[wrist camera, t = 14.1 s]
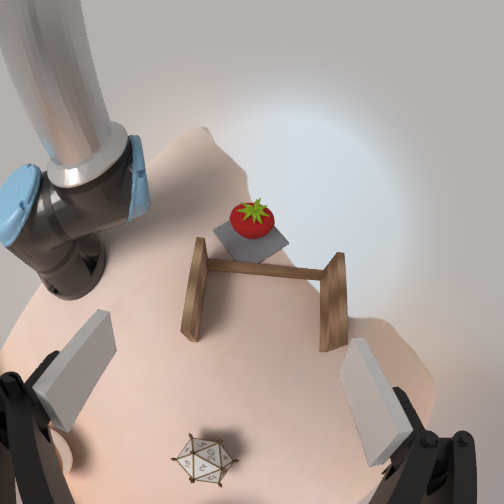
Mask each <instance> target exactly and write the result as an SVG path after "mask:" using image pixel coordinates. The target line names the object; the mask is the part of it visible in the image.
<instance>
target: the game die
mask: <svg viewBox="0 0 504 504" xmlns="http://www.w3.org/2000/svg"><path fill="white" fill-rule="evenodd" d="M189 437H190V438H191V439H190V440H189V442H188V443H187V445H186V446H185V447H184V449H183V450H182V452H181V453H180V454H179V456H178V457H177V458H171V460H173V461H175V460H176V461H177V462H178V463H179V464H180V465H181V466H182V468H183V469H184V470H185V471H186V472H187V473H188V474H189V476H190V478H189V481H190V480H191V481H190V482H191V483H194V482H195V480H197V481H204V482H211V483H218V485H219V486H220V487H222V484H221V483H220V481H221V480H222V478H223V477H224V475H225V474H226V472H227V471H228V469H229V468H230V466H231V465H232V463H233V462H238V461H239V460H237V459H236V460H233V459H232V458H231V457H230V456H229V454H228V453H227V452H226V450H225V449H224V448H223V446H222V445H221V444H220V443H222V438H221V439H219V440H218V442H217V441H209V440H203V439H197V438H193V437H192V434H190V433H189Z"/></svg>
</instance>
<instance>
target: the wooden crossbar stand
mask: <svg viewBox="0 0 504 504" xmlns="http://www.w3.org/2000/svg"><path fill="white" fill-rule="evenodd" d="M208 270H217V271H226V272H236V273H245V274H255V275H265V276H275V277H286V278H297V279H308V280H319V281H320V352H328V351H331V350H334V349H337V348H339V347H342V346H345V345H348V314H347V288H346V270H345V256H344V253H340V252H337V253H336V254H335V256H334V257H333V258H332V260H331V261H330V262H329V264H328V265H327V266H326V268H325V269H324V270H317V269H307V268H297V267H286V266H276V265H267V264H257V263H247V262H238V261H228V260H219V259H209V258H208V256H207V250H206V243H205V238H201V237H197V238H196V243H195V248H194V253H193V259H192V264H191V269H190V275H189V281H188V286H187V292H186V298H185V305H184V311H183V317H182V324H181V331H180V332H181V333H182V334H183V335H184V336H185V337H186V338H187V339H188V340H189V341H192V342H198V334H199V326H200V319H201V312H202V304H203V297H204V291H205V284H206V277H207V271H208Z"/></svg>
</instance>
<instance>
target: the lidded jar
mask: <svg viewBox="0 0 504 504" xmlns="http://www.w3.org/2000/svg"><path fill="white" fill-rule="evenodd" d="M50 431H51V435H52V439H53V442H54V446H55V450H56V453H57V456H58V460H59V463H60V466H61V469H62V472H63V474H64V476H66V475H67V474H68V473H69V471H70V470H71V467H72V463H73V457H72V453H71V449H70V447H69V445H68V444H67V442H66V441H65V440H64V438H63V437H62V436H61V435H60V434H58V433H57V432H56V431H54V430H52V429H50Z"/></svg>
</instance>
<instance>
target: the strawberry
mask: <svg viewBox="0 0 504 504" xmlns="http://www.w3.org/2000/svg"><path fill="white" fill-rule="evenodd" d="M260 199H261V198H260ZM260 199H258V200H256V202H255V203H242V202H241V204H240V205H238V206H236V207H235V208H234V209H233V210H232V212H231V215H230V223H231V225H232V227H233V229H234V230H235V231H236V233H238V234H239V235H241V236H243V237H245V238H247V239H258V238H261V237H264V236H266V235H267V234H268V233H269V232H270V231H271V230H272V228H273V227H274V224H275V223H274V216H273V214H272V212H271V211H270V210H269V209H268V208H266V207H267V206H263V205H260V204H259V203H260Z"/></svg>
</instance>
